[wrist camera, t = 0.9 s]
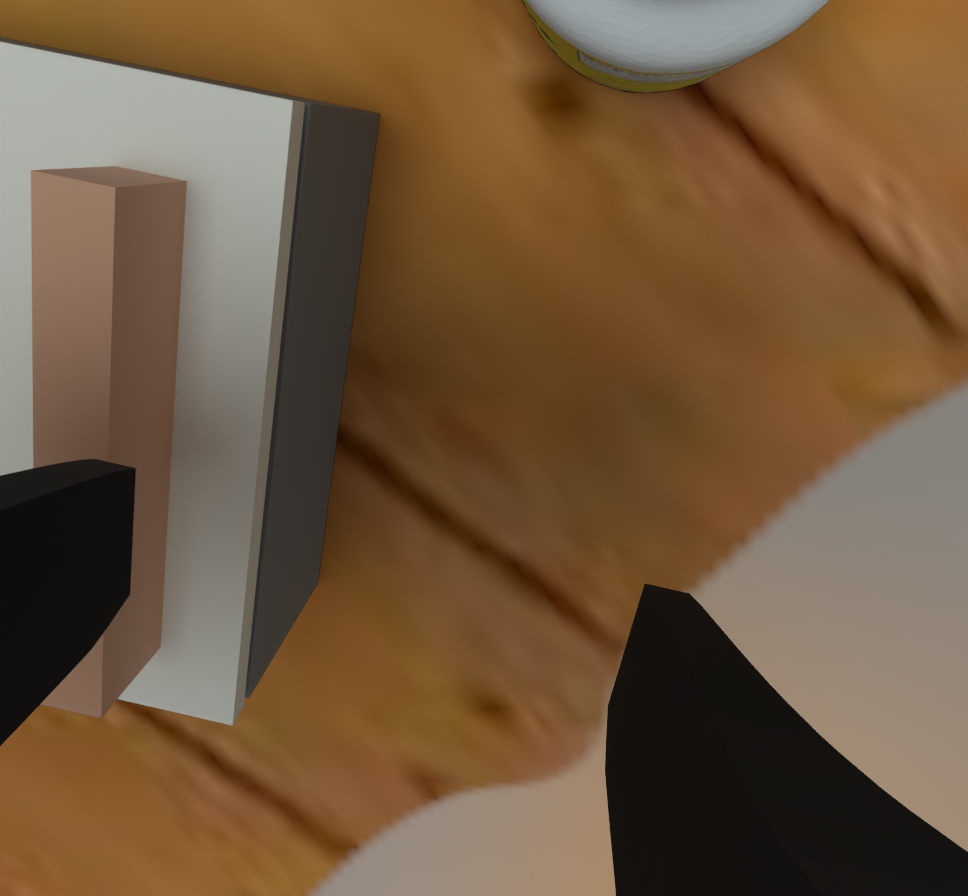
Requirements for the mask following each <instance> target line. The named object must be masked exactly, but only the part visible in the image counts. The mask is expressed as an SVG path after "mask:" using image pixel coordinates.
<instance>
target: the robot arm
mask: <svg viewBox="0 0 968 896" xmlns="http://www.w3.org/2000/svg"><path fill="white" fill-rule="evenodd" d="M135 479H136V468H133V467H129V466H124V465H120V464H115V463H111V462H107V461H102V460H98V459H85V460H76V461H69V462H63V463H57V464H52V465H47V466H42V467H37V468H33V469H28V470H23V471H19V472H14V473H10V474H5V475H1V476H0V746H1V745H2V744H3V743H4V741H5V740H6V739H7V738H8V737H9V736H10V735H11V734H12V733H13V732H14V731H15V730H16V729H17V728H18V727H19V726H20V725H21V724H22V723H23V722H24V721H25V720H26V719H27V717H28V716H29V715H30V714H31V713H32V712H33V711H34V710H35V709H36V708H37V707H38V706H39V705H40V704H41V703H42V702H43V701H44V700H45V699H46V698H47V697H48V696H49V695H50V693H51V692H52V691H53V690H54V689H55V688H56V687H57V686H58V685H59V684H60V683H61V682H62V681H63V680H64V679H65V678H66V676H67V675H68V674H69V673H70V672H71V671H72V670H73V669H74V668H75V667H76V666H77V665H78V664H79V663H80V661H81V660H82V659H83V658H84V657H85V656H86V655H87V654H88V653H89V652H90V650H91V649H92V648H93V647H94V645H95V644H96V643H97V641H98V640H99V638H100V637H101V636H102V634H103V633H104V632H105V630H106V629H107V628H108V626H109V625H110V623H111V622H112V620H113V619H114V617H115V616H116V615H117V613H118V612H119V610H120V609H121V607H122V606H123V604H124V603H125V601H126V600H127V598H128V597H129V595H130V587H131V566H132V544H133V522H134V501H135ZM605 774H606V787H607V798H608V811H609V821H610V833H611V844H612V854H613V865H614V876H615V887H616V896H968V852H967V851H966V850H964V849H963V848H961V847H959V846H958V845H957V844H956V843H954V842H953V841H951V840H950V839H948V838H947V837H946V836H945V835H943V834H942V833H940V832H939V831H938V830H936V829H935V828H933V827H932V826H931V825H929V824H928V823H926V822H925V821H924V820H922V819H921V818H920V817H918V816H917V815H915V814H914V813H913V812H911V811H910V810H909V809H907V808H906V807H905V806H903V805H902V804H901V803H899V802H898V801H897V800H896V799H894V798H893V797H892V796H891V795H889V794H888V793H887V792H885V791H884V790H883V789H882V788H880V787H879V786H878V785H877V784H876V783H874V782H873V781H872V780H871V779H870V778H868V777H867V776H866V775H865V774H864V773H863V772H861V771H860V770H859V769H858V768H857V767H856V766H854V765H853V764H852V763H851V762H850V761H848V760H847V759H846V758H845V757H844V756H843V755H841V754H840V753H839V752H838V751H837V750H836V749H835V748H833V747H832V746H831V745H830V744H829V743H828V742H827V741H826V740H825V739H824V738H822V737H821V736H820V735H819V734H818V733H817V732H816V731H815V730H814V729H813V728H812V727H811V726H810V725H809V724H808V723H807V722H806V721H805V720H804V719H803V718H802V717H801V716H800V715H799V714H798V713H797V712H796V711H795V710H794V709H793V708H792V707H791V706H790V705H789V704H788V703H787V702H786V701H785V700H784V699H783V698H782V697H781V696H780V695H779V694H778V693H777V691H776V690H775V689H774V688H773V687H772V686H771V685H770V684H769V683H768V682H767V681H766V680H765V679H764V678H763V676H762V675H761V674H760V673H759V672H758V671H757V670H756V669H755V668H754V666H753V665H751V663H750V662H749V661H748V660H747V658H745V656H744V655H743V654H742V653H741V652H740V650H738V648H737V647H736V646H735V645H734V644H733V642H732V641H731V640H730V639H729V638H728V636H727V635H726V634H725V633H724V632H723V631H722V630H721V628H720V627H719V626H718V625H717V624H716V622H715V621H714V620H713V619H712V618H711V617H710V616H709V614H708V613H707V612H706V611H705V610H704V609H703V607H702V606H701V605H700V604H699V603H698V602H697V601H696V600H695V599H694V598H693V597H692V596H691V595H690V594H689V593H684V592H680V591H676V590H671V589H667V588H662V587H658V586H653V585H649V584H645V585H644V588H643V592H642V595H641V598H640V601H639V605H638V608H637V611H636V615H635V618H634V621H633V625H632V628H631V631H630V635H629V638H628V641H627V645H626V648H625V651H624V654H623V658H622V661H621V664H620V668H619V671H618V674H617V678H616V681H615V684H614V688H613V691H612V694H611V698H610V701H609V704H608V717H607V736H606V763H605Z"/></svg>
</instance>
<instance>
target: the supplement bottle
mask: <svg viewBox="0 0 968 896" xmlns="http://www.w3.org/2000/svg"><path fill="white" fill-rule="evenodd" d="M828 1H829V0H522V3H523V4H524V6H525V7H526V9H527V12H528V14H529V16H530V18H531V20H532V22H533V23H534V25H535V27H536V29H537V30H538V32H539V34H540V35H541V37H542V38H543V39H544V40H545V42H546V43H547V44H548V46H549V47H550V48H551V49H552V50H553V51H554V53H555V54H556V55H557V56H558V57H559V58H560V59H561V60H562V61H564V62H565V63H566V64H567V65H568V66H569V67H571V68H572V69H573V70H575V71H576V72H578V73H579V74H581V75H582V76H584V77H586V78H588V79H590V80H592V81H594V82H596V83H598V84H601V85H604V86H606V87H609V88H613V89H617V90H620V91H624V92H632V93H655V92H663V91H670V90H675V89H679V88H683V87H686V86H690V85H693V84H696V83H698V82H701V81H703V80H705V79H707V78H709V77H711V76H712V75H714V74H717V73H719V72H721V71H723V70H725V69H726V68H728V67H730V66H732V65H734V64H736V63H738V62H740V61H742V60H744V59H746V58H748V57H750V56H752V55H754V54H756V53H758V52H760V51H762V50H764V49H765V48H767V47H769V46H771V45H772V44H774V43H776V42H777V41H779V40H781V39H782V38H784V37H786V36H787V35H789V34H790V33H792V32H793V31H794V30H796V29H797V28H798V27H800V26H801V25H802V24H803V23H804V22H805V21H806V20H808V19H809V18H810V17H811V16H812V15H813V14H815V13H816V12H817V11H818V10H819V9H820V8H821V7H823V6H824V5H825V4H826V3H827V2H828Z"/></svg>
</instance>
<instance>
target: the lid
mask: <svg viewBox="0 0 968 896" xmlns="http://www.w3.org/2000/svg"><path fill="white" fill-rule="evenodd" d="M304 108H305V103H304V102H299V101H294V100H289V99H284V98H279V97H274V96H269V95H265V94H260V93H255V92H250V91H245V90H240V89H235V88H230V87H225V86H220V85H215V84H210V83H205V82H200V81H195V80H190V79H185V78H180V77H175V76H170V75H165V74H160V73H155V72H150V71H146V70H141V69H136V68H131V67H126V66H121V65H116V64H111V63H106V62H101V61H96V60H91V59H86V58H81V57H76V56H71V55H66V54H61V53H56V52H51V51H46V50H41V49H36V48H31V47H26V46H22V45H17V44H12V43H7V42H2V41H0V476H1V475H5V474H10V473H14V472H19V471H23V470H28V469H33V468H37V467H42V466H47V465H52V464H57V463H63V462H69V461H76V460H85V459H98V460H102V461H107V462H111V463H115V464H120V465H124V466H129V467H133V468H136V479H135V501H134V522H133V544H132V566H131V587H130V595H129V597H128V598H127V600H126V601H125V603H124V604H123V606H122V607H121V609H120V610H119V612H118V613H117V615H116V616H115V617H114V619H113V620H112V622H111V623H110V625H109V626H108V628H107V629H106V630H105V632H104V633H103V634H102V636H101V637H100V638H99V640H98V641H97V643H96V644H95V645H94V647H93V648H92V649H91V650H90V652H89V653H88V654H87V655H86V656H85V657H84V658H83V659H82V660H81V661H80V663H79V664H78V665H77V666H76V667H75V668H74V669H73V670H72V671H71V672H70V673H69V674H68V675H67V676H66V678H65V679H64V680H63V681H62V682H61V683H60V684H59V685H58V686H57V687H56V688H55V689H54V690H53V691H52V692H51V693H50V695H49V696H48V697H47V698H46V699H45V700H44V701H43V702H42V703H41V705H46V706H50V707H54V708H58V709H63V710H67V711H71V712H76V713H80V714H84V715H89V716H93V717H97V718H102V717H103V716H104V714H105V713H106V712H107V711H108V710H109V708H110V707H111V706H112V705H113V704H114V702H115V701H116V700H117V699H120V700H124V701H128V702H133V703H137V704H141V705H146V706H150V707H154V708H159V709H163V710H167V711H172V712H176V713H180V714H185V715H189V716H193V717H198V718H202V719H206V720H211V721H215V722H219V723H224V724H228V725H232V726H233V724H234V722H235V721H236V719H237V717H238V716H239V714H240V712H241V711H242V709H243V707H244V698H245V688H246V678H247V668H248V659H249V649H250V639H251V629H252V619H253V609H254V600H255V590H256V580H257V570H258V560H259V550H260V541H261V531H262V521H263V511H264V501H265V491H266V482H267V472H268V462H269V452H270V442H271V432H272V423H273V413H274V403H275V393H276V383H277V373H278V364H279V354H280V344H281V334H282V324H283V314H284V305H285V295H286V285H287V275H288V265H289V255H290V246H291V236H292V226H293V216H294V206H295V196H296V187H297V177H298V167H299V157H300V147H301V137H302V128H303V118H304Z"/></svg>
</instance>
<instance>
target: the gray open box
mask: <svg viewBox="0 0 968 896" xmlns="http://www.w3.org/2000/svg"><path fill="white" fill-rule="evenodd" d="M0 41H2V42H7V43H12V44H17V45H22V46H26V47H31V48H36V49H41V50H46V51H51V52H56V53H61V54H66V55H71V56H76V57H81V58H86V59H91V60H96V61H101V62H106V63H111V64H116V65H121V66H126V67H131V68H136V69H141V70H146V71H150V72H155V73H160V74H165V75H170V76H175V77H180V78H185V79H190V80H195V81H200V82H205V83H210V84H215V85H220V86H225V87H230V88H235V89H240V90H245V91H250V92H255V93H260V94H265V95H269V96H274V97H279V98H284V99H289V100H294V101H299V102H304V103H305V108H304V118H303V128H302V137H301V147H300V157H299V167H298V177H297V187H296V196H295V206H294V216H293V226H292V236H291V246H290V255H289V265H288V275H287V285H286V295H285V305H284V314H283V324H282V334H281V344H280V354H279V364H278V373H277V383H276V393H275V403H274V413H273V423H272V432H271V442H270V452H269V462H268V472H267V482H266V491H265V501H264V511H263V521H262V531H261V541H260V550H259V560H258V570H257V580H256V590H255V600H254V609H253V619H252V629H251V639H250V649H249V659H248V668H247V678H246V688H245V697H246V698H249V697H250V696H251V694H252V692H253V691H254V689H255V687H256V686H257V684H258V682H259V681H260V679H261V677H262V676H263V674H264V672H265V671H266V669H267V667H268V666H269V664H270V662H271V661H272V659H273V657H274V656H275V654H276V652H277V651H278V649H279V647H280V646H281V644H282V642H283V641H284V639H285V637H286V636H287V634H288V632H289V631H290V629H291V627H292V626H293V624H294V622H295V621H296V619H297V617H298V616H299V614H300V612H301V611H302V609H303V607H304V606H305V604H306V602H307V601H308V599H309V597H310V596H311V594H312V592H313V591H314V589H315V587H316V586H317V584H318V577H319V570H320V562H321V554H322V547H323V539H324V532H325V524H326V517H327V509H328V501H329V494H330V486H331V479H332V471H333V464H334V456H335V449H336V441H337V433H338V426H339V418H340V411H341V403H342V396H343V388H344V380H345V373H346V365H347V358H348V350H349V343H350V335H351V327H352V320H353V312H354V305H355V297H356V290H357V282H358V274H359V267H360V259H361V252H362V244H363V237H364V229H365V221H366V214H367V206H368V199H369V191H370V184H371V176H372V168H373V161H374V153H375V146H376V138H377V131H378V123H379V116H380V114H379V113H374V112H369V111H364V110H359V109H354V108H349V107H344V106H339V105H334V104H329V103H324V102H319V101H314V100H310V99H305V98H300V97H295V96H290V95H285V94H280V93H275V92H270V91H265V90H260V89H255V88H250V87H245V86H240V85H235V84H230V83H225V82H220V81H215V80H210V79H205V78H200V77H195V76H190V75H185V74H180V73H175V72H171V71H166V70H161V69H156V68H151V67H146V66H141V65H136V64H131V63H126V62H121V61H116V60H111V59H106V58H101V57H96V56H91V55H86V54H81V53H76V52H71V51H66V50H61V49H56V48H51V47H46V46H41V45H37V44H32V43H27V42H22V41H17V40H12V39H7V38H2V37H0Z"/></svg>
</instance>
